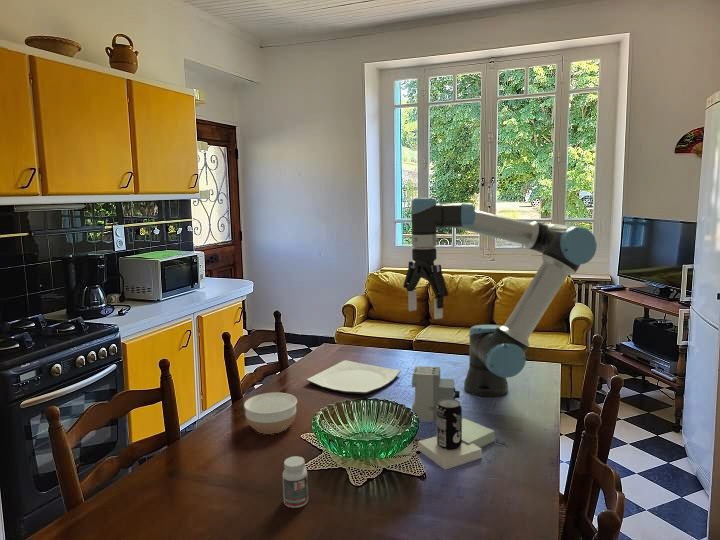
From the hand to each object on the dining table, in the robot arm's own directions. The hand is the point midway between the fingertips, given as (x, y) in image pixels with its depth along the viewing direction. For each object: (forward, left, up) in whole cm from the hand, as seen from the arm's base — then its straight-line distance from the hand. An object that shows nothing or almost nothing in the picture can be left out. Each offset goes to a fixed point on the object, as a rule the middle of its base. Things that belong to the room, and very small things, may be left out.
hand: (425, 314), depth 167 cm
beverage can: (+12, +28, -29) cm, 42 cm away
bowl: (+48, -13, -32) cm, 59 cm away
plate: (+8, -35, -32) cm, 48 cm away
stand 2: (+3, +24, -31) cm, 40 cm away
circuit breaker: (+1, +7, -32) cm, 32 cm away
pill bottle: (+56, +28, -32) cm, 70 cm away
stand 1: (+12, +28, -31) cm, 44 cm away
